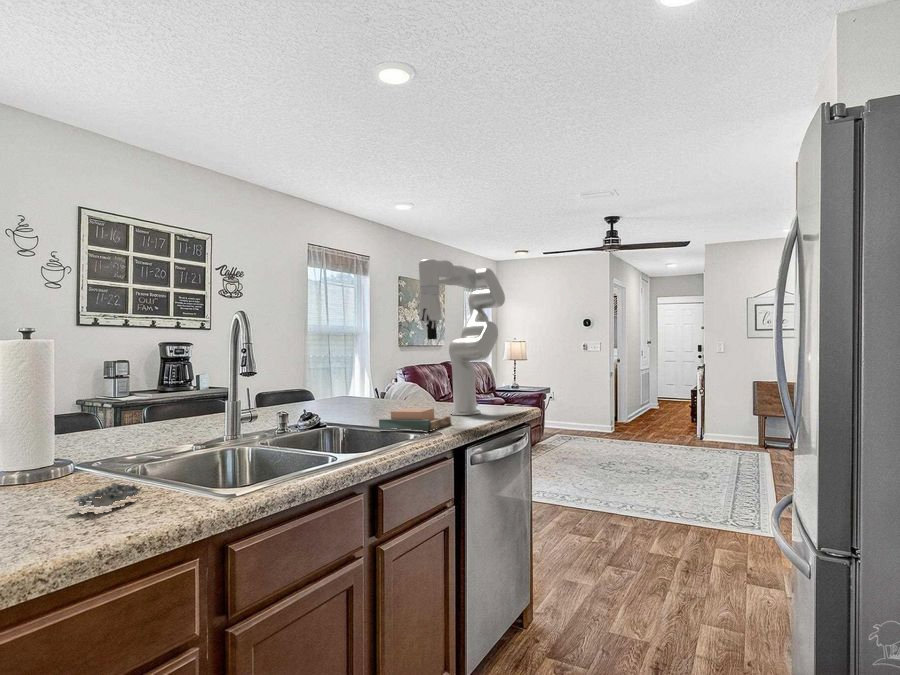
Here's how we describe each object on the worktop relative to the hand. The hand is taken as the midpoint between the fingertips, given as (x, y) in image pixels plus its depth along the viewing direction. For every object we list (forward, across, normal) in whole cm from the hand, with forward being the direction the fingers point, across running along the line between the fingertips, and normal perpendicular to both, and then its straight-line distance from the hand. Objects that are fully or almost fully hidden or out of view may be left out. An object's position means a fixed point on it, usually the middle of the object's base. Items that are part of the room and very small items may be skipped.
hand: (432, 339), depth 210 cm
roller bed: (+31, +16, 0) cm, 35 cm away
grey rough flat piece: (+30, +119, -14) cm, 123 cm away
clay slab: (+29, +18, 0) cm, 34 cm away
